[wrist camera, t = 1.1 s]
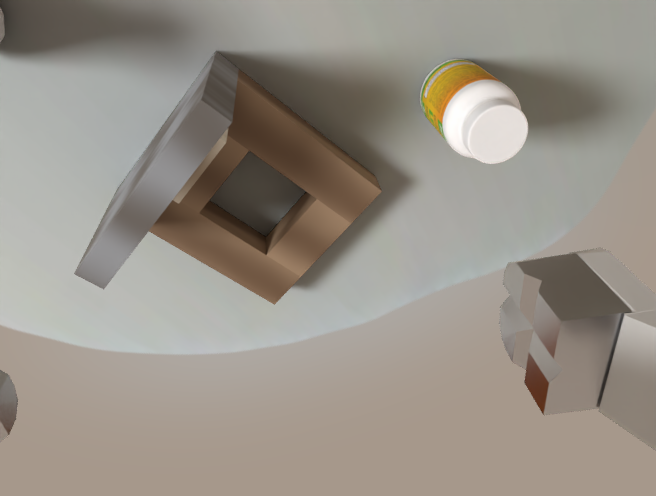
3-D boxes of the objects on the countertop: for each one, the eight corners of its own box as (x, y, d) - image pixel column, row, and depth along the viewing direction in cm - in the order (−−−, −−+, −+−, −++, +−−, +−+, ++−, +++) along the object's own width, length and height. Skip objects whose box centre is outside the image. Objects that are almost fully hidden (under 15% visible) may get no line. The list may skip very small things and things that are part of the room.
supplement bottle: (404, 101, 42) (439, 146, 34) (451, 42, 40) (500, 75, 32) (452, 138, 45) (496, 188, 36) (499, 84, 43) (556, 125, 34)
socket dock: (215, 51, 39) (201, 99, 29) (374, 175, 46) (408, 251, 35) (116, 190, 44) (74, 273, 34) (273, 284, 50) (277, 378, 40)
